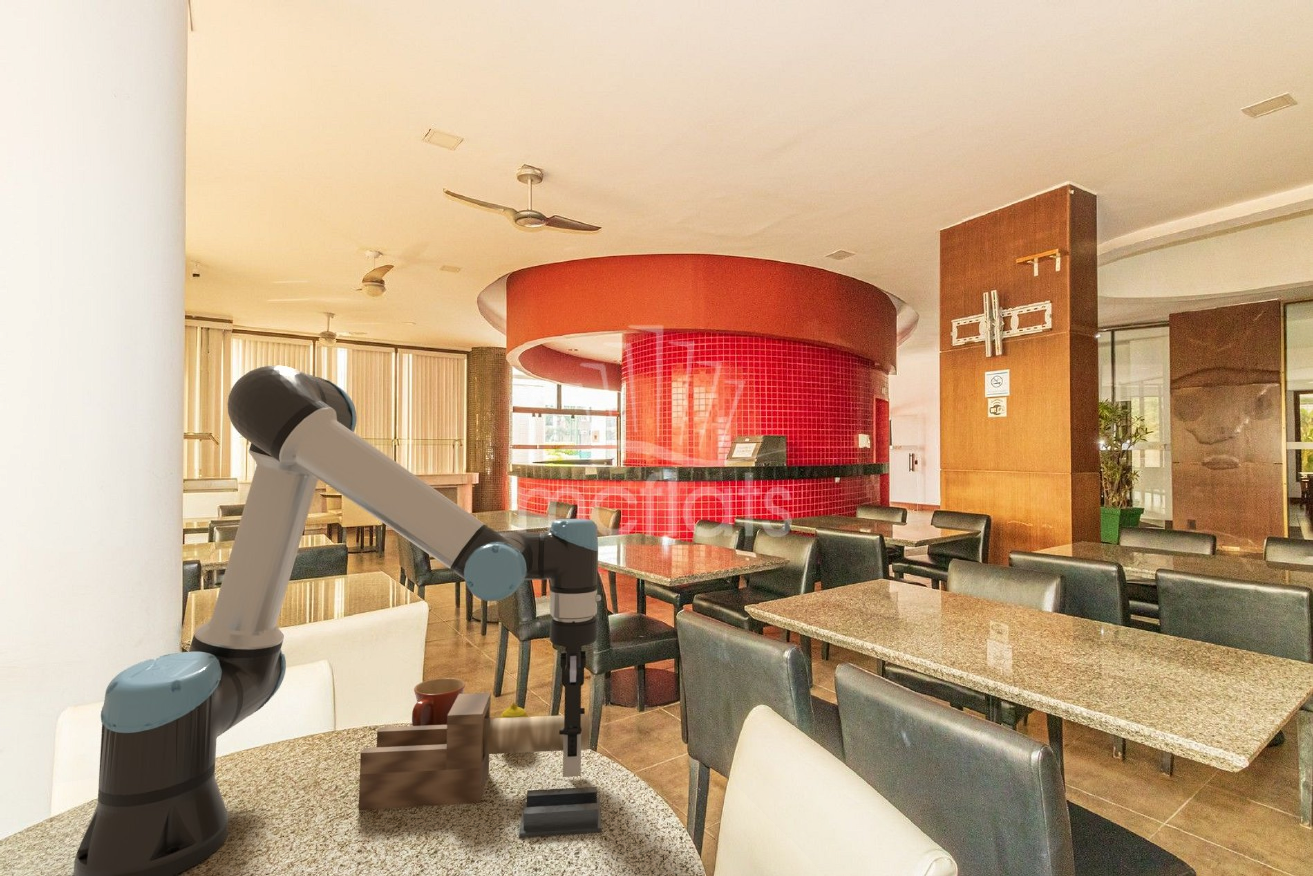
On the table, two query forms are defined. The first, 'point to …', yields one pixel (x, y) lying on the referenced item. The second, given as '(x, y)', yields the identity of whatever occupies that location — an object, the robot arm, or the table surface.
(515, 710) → the fruit
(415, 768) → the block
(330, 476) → the robot arm
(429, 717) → the mug
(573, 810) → the cradle
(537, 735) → the axle
